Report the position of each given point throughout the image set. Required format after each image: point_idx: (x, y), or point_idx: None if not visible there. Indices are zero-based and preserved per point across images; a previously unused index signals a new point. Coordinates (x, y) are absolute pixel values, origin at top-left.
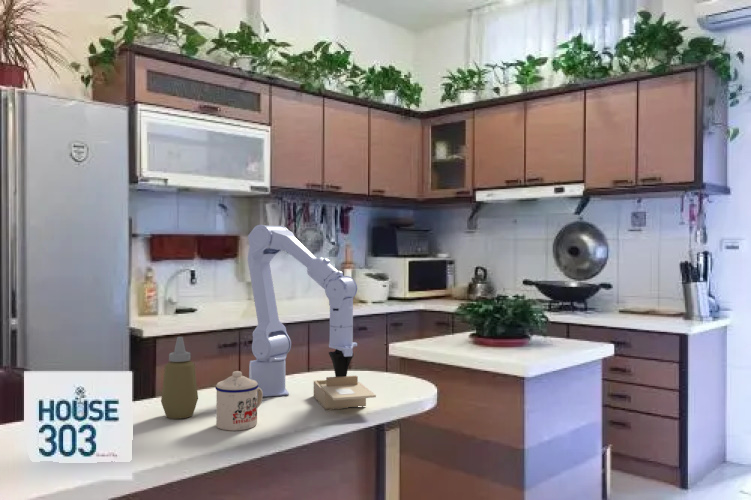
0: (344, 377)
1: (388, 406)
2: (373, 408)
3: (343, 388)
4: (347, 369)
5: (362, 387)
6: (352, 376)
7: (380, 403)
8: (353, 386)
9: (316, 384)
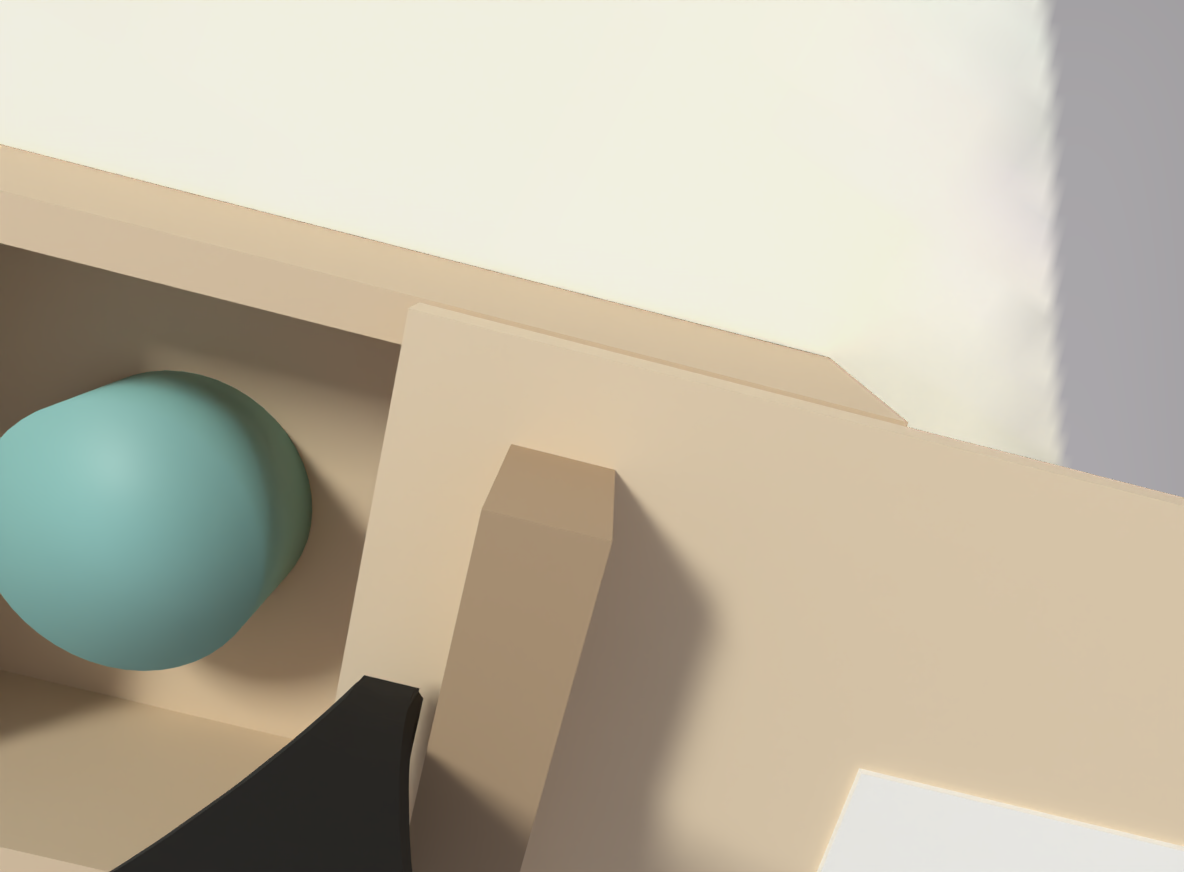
0: (526, 831)
1: (1000, 11)
2: (950, 294)
3: (758, 837)
4: (408, 863)
5: (899, 511)
6: (545, 650)
7: (767, 28)
8: (723, 622)
9: (11, 869)
